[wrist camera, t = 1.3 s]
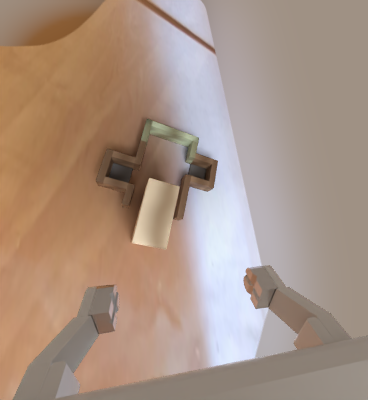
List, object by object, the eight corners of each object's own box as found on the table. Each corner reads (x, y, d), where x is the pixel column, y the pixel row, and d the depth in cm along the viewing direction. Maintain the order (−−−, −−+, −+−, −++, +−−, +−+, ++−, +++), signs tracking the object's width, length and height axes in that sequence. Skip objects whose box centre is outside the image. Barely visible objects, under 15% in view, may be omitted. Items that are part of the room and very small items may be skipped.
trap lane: (93, 199, 33) (90, 196, 30) (121, 118, 38) (120, 108, 35) (201, 225, 38) (207, 224, 36) (214, 151, 43) (220, 145, 40)
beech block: (130, 241, 34) (132, 242, 25) (144, 191, 36) (149, 177, 28) (156, 246, 35) (166, 249, 27) (167, 198, 38) (179, 186, 29)
